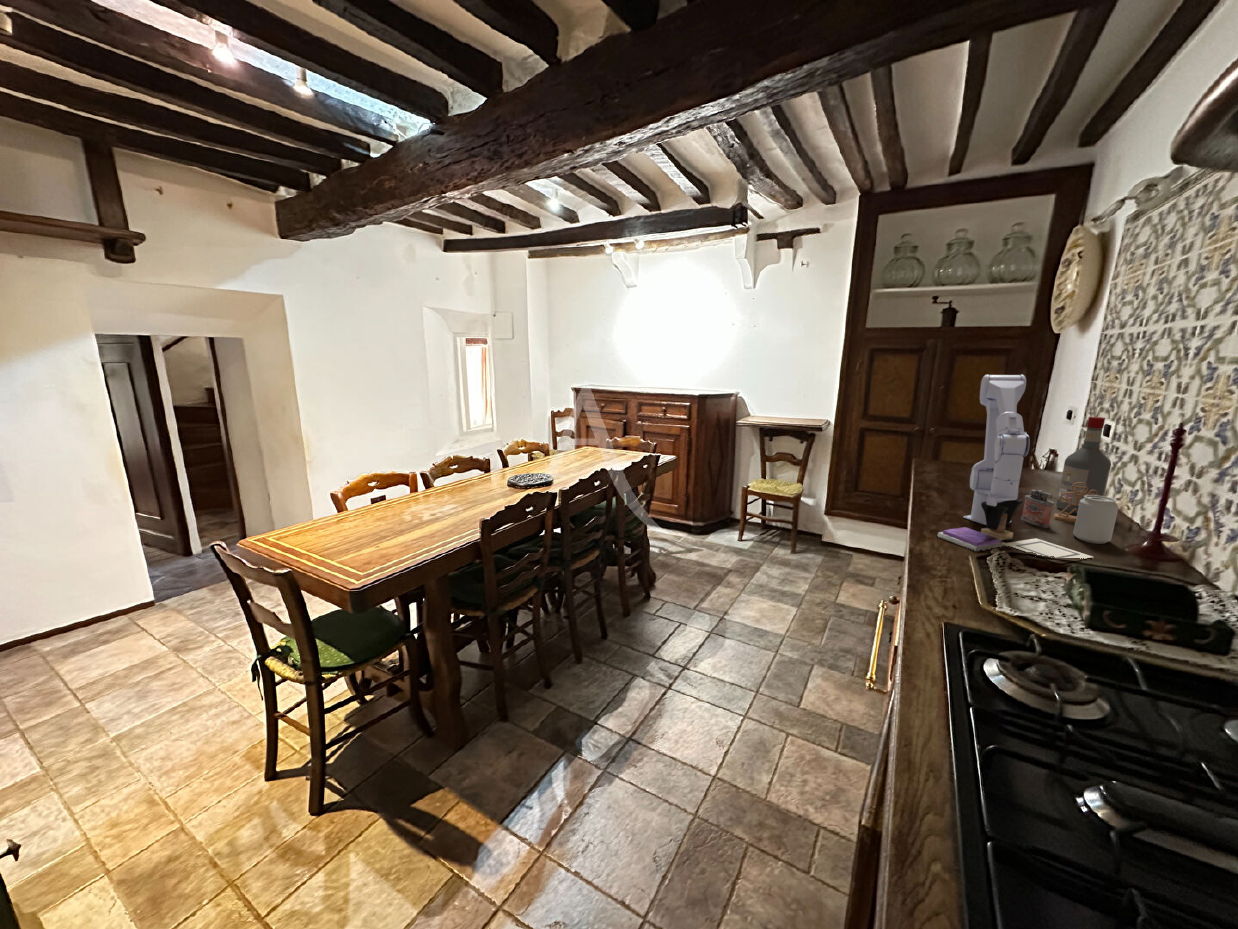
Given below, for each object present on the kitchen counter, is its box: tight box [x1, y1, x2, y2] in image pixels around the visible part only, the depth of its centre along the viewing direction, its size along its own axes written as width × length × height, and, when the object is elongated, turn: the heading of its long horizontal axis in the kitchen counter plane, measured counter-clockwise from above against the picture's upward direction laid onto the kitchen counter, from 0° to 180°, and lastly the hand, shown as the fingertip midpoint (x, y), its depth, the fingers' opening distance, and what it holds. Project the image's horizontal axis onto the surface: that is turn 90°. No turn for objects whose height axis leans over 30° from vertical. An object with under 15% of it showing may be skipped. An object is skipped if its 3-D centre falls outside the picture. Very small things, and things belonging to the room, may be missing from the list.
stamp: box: [980, 513, 1014, 542], centre depth 132 cm, size 5×5×7 cm
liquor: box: [1056, 416, 1112, 515], centre depth 151 cm, size 9×9×30 cm
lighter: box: [1020, 489, 1055, 529], centre depth 143 cm, size 8×3×10 cm, turn 5°
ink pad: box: [937, 526, 1006, 552], centre depth 130 cm, size 10×11×2 cm
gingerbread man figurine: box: [1052, 482, 1098, 523], centre depth 144 cm, size 9×4×12 cm, turn 51°
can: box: [1072, 495, 1120, 545], centre depth 129 cm, size 8×8×12 cm
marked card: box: [1004, 537, 1094, 560], centre depth 123 cm, size 12×13×1 cm
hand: (997, 526), depth 132 cm, fingers open, 7 cm apart
